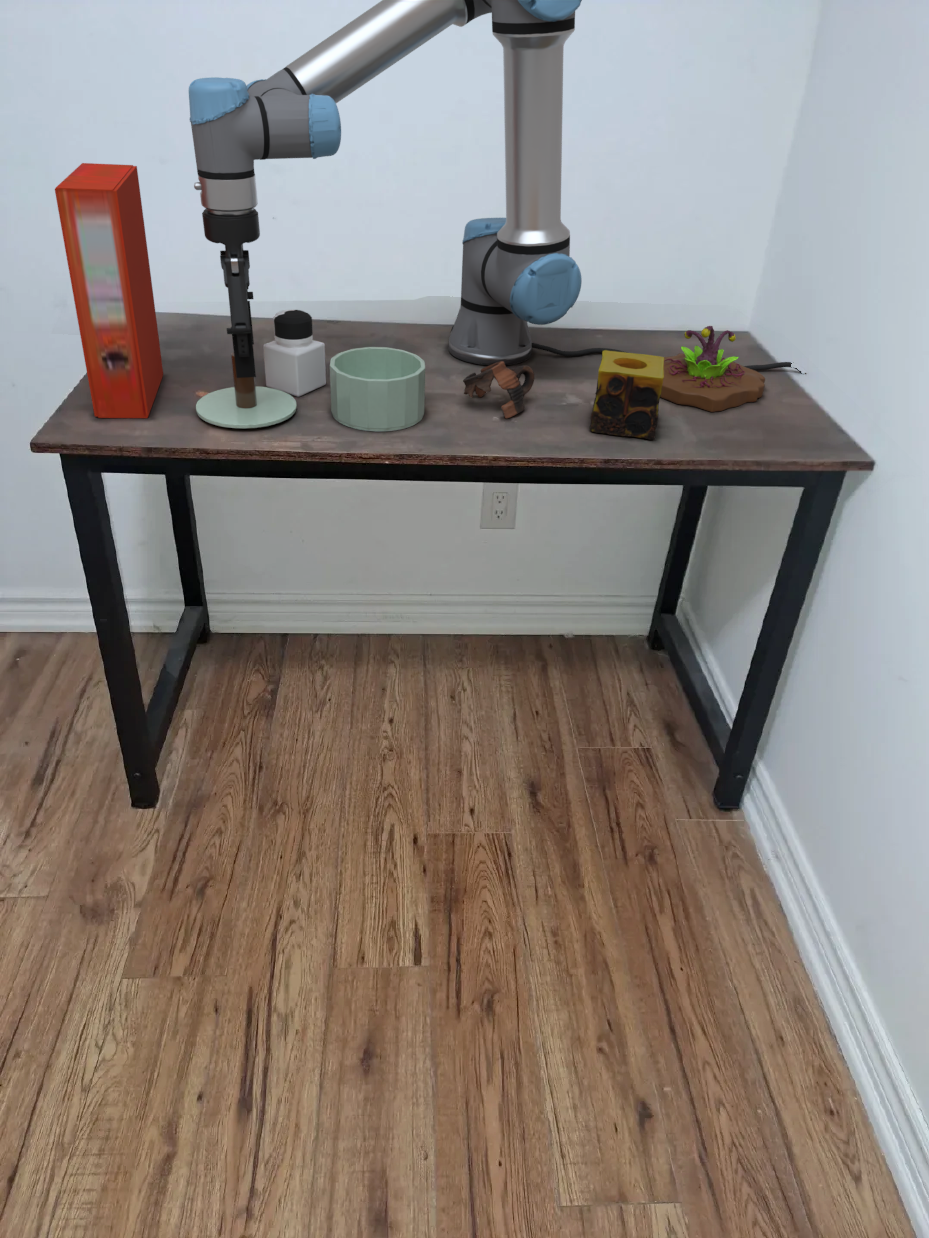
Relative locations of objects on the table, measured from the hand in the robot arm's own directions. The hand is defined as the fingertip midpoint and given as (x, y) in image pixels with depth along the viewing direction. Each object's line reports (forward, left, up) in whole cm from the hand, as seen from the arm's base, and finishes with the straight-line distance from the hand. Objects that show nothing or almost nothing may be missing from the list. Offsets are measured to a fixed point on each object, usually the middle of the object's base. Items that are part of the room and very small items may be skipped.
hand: (245, 360), depth 141 cm
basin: (-20, +2, -8) cm, 21 cm away
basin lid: (0, 0, -8) cm, 8 cm away
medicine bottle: (-8, -10, -8) cm, 15 cm away
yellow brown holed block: (-58, +10, -8) cm, 59 cm away
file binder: (+18, -8, -8) cm, 21 cm away
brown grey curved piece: (-40, +1, -8) cm, 41 cm away
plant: (-77, -4, -8) cm, 77 cm away
